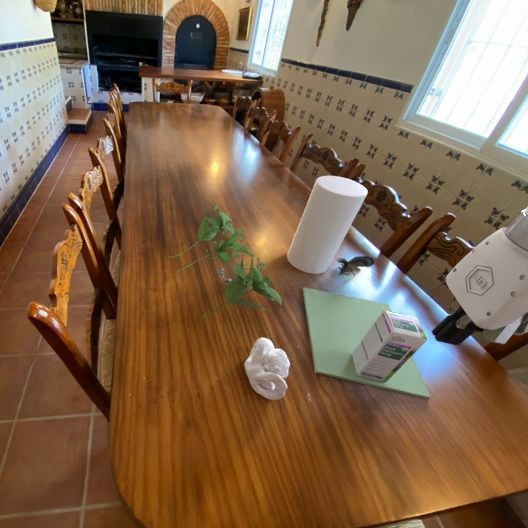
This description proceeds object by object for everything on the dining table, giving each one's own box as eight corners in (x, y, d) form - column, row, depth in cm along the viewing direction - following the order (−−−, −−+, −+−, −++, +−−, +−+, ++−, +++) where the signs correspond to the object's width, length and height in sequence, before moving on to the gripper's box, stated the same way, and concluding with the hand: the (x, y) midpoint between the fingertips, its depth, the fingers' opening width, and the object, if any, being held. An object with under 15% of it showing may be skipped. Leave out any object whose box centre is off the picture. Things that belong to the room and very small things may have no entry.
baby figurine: (252, 342, 67) (284, 328, 62) (275, 397, 62) (311, 387, 57) (229, 346, 61) (262, 331, 56) (252, 407, 56) (291, 397, 51)
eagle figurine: (357, 284, 83) (378, 270, 86) (352, 261, 81) (373, 248, 84) (333, 280, 90) (353, 267, 93) (328, 258, 89) (349, 246, 91)
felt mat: (386, 305, 79) (388, 303, 78) (428, 399, 59) (430, 397, 59) (302, 289, 82) (303, 287, 81) (315, 373, 62) (316, 371, 61)
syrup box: (356, 376, 61) (394, 332, 52) (350, 352, 66) (384, 308, 56) (385, 383, 60) (429, 340, 51) (378, 358, 65) (416, 315, 56)
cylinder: (291, 244, 98) (320, 171, 82) (331, 257, 94) (369, 183, 78) (282, 263, 90) (312, 187, 74) (325, 279, 86) (366, 201, 70)
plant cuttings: (216, 367, 69) (304, 321, 64) (177, 337, 58) (279, 279, 53) (183, 269, 95) (243, 231, 90) (152, 236, 84) (218, 191, 79)
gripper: (479, 202, 39) (400, 298, 51) (568, 277, 27) (439, 378, 39) (543, 212, 38) (447, 307, 50) (663, 294, 26) (502, 392, 38)
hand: (444, 338), depth 44 cm, fingers closed
